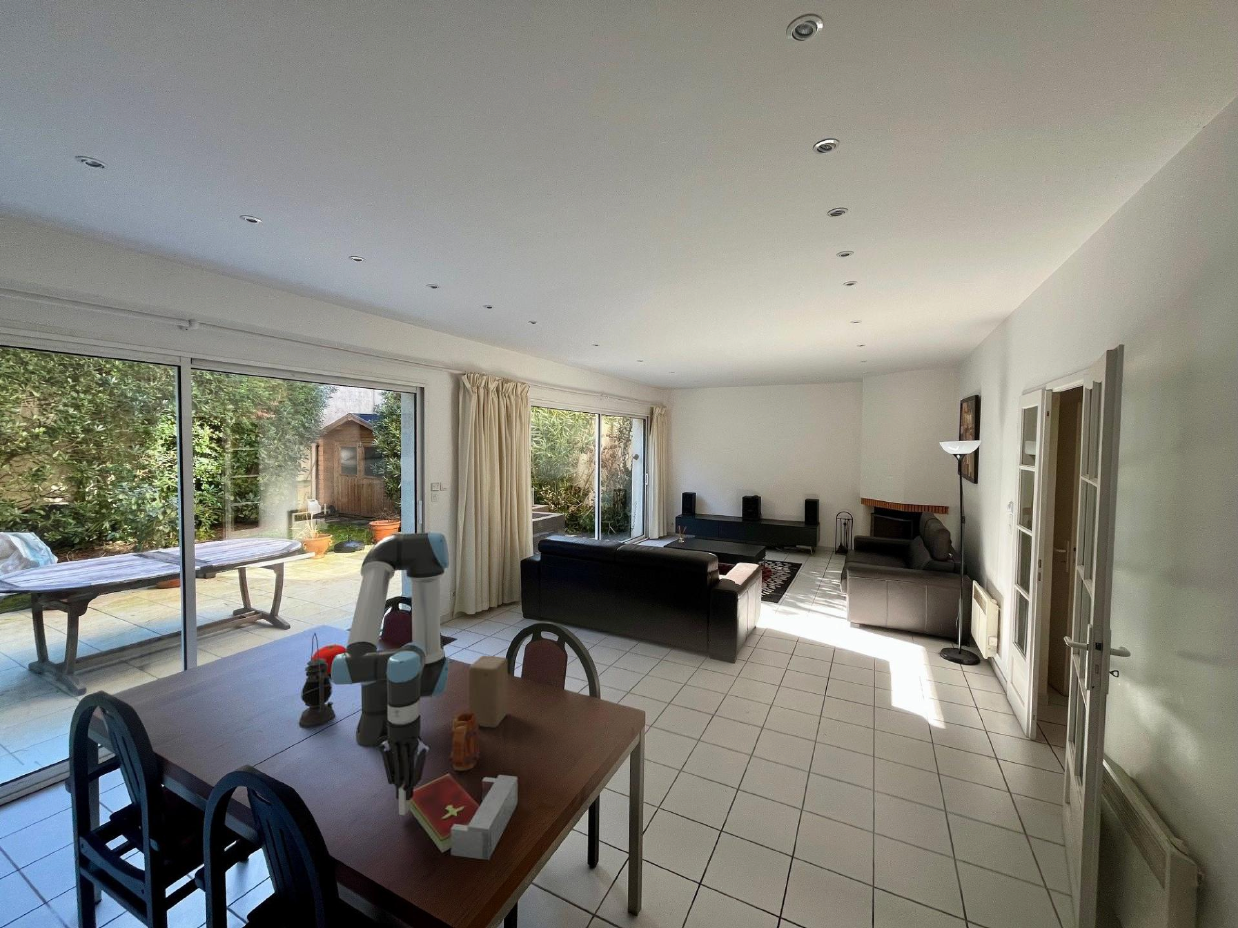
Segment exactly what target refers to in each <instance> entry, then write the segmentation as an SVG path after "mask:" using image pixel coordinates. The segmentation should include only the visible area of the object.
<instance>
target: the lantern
mask: <svg viewBox="0 0 1238 928" xmlns="http://www.w3.org/2000/svg"><path fill="white" fill-rule="evenodd" d="M314 637H315V640H316V648H317V649H316V651H318V650H319V641H318V638H317V633H316V632H314V633H313V635H312V639H311V640H312V641H311V653H310V660H309V661H307V663H306V665H307V666H306V667H305V668H304V671H305V676H306V679H305V683H304V685H303V687H302V690H301V693H300V698H301V700H302V701H303V703H304V705H305V706H306V707H307V708H305V709H304V710H303V711H302V713H301V715H300V718H299V721H298V726H299V727H301V728H305V729H314V728H317V727H321V726H322V727H323V726H324V725H326V724H329V723H330V722H331V721H333V720H334V718H335V717H336V714H335V711H334V709H333V705H334V702H332V701H329V699H330V698H331V696H332V694H333V691H332V689H333V685H332V683H331V680H330V679H329V677H328V674H325V673H326V672H327V667H328V664H327V663H325V662H326V659H323V658H319V652H318V653H316V652H314V654H315V659H314V660H312V657H313V651H314ZM316 654H317V657H318V659H316Z"/></svg>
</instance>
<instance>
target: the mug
mask: <svg viewBox="0 0 1238 928" xmlns="http://www.w3.org/2000/svg"><path fill="white" fill-rule="evenodd" d="M452 723H453V724H452V725H453V726H452V727H451V731H450V732H449V736H451V737H452V746H453V747H452V751H451V752H450V755H449V758H448V761H449V762H451V763H452V766H453V769H454V770H456V771H467V770H468V771H469V770H471V769H472V768H475V766H476V764H477V760H478V758H479V755H480V754H479V753H480V752H481V750H482V748H481V747H479V746H477V738H478V737H477V735H478V732H479V728H480V727H481V726H480V724H479V723H477V722H476V716H475V715H474V713H472V712H469V711H466V712H465V711H462V712H460V713H459V714H458V713H457V715H456V716H455V717H454V719H453V722H452Z"/></svg>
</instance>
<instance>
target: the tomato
mask: <svg viewBox="0 0 1238 928" xmlns="http://www.w3.org/2000/svg"><path fill="white" fill-rule="evenodd" d="M318 652H319V658H323V659H326V662H325V663H327V664H328V667H327V672H326V673H325V674H327V675H331V667H332V662H333V660H334V658H335V656H336V655H338V654H342V653H345V652H346V647H345V646H343V645H339V644H336V643H335V644H331V645H326V646H325V645H324V646H323V647H321V648H318V651H317V650H316V651H315V653H318ZM315 653H314V654H312V660H314V659H315ZM316 659H318V657H317V654H316Z"/></svg>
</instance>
